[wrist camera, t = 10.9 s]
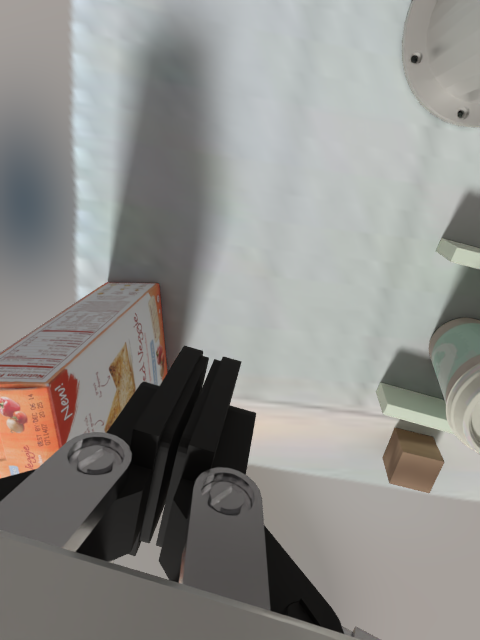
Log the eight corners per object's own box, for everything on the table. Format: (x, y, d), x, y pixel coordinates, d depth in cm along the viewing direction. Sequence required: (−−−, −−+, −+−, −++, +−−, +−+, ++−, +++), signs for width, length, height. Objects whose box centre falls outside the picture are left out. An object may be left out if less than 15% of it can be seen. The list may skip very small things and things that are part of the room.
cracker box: (175, 402, 47) (88, 575, 28) (123, 400, 48) (3, 566, 29) (164, 280, 42) (48, 387, 23) (106, 279, 43) (-54, 382, 24)
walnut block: (394, 427, 45) (402, 451, 41) (432, 436, 45) (444, 461, 41) (382, 456, 46) (389, 483, 43) (419, 465, 46) (429, 493, 42)
